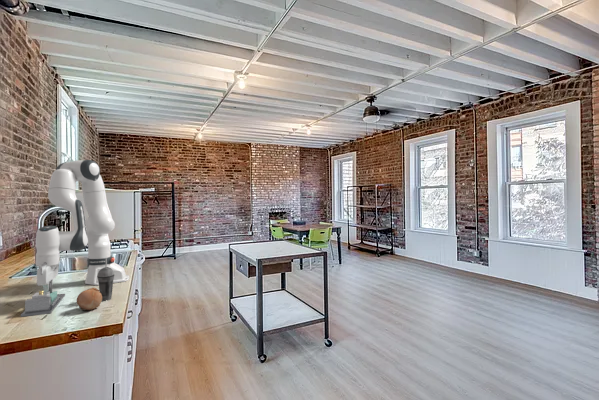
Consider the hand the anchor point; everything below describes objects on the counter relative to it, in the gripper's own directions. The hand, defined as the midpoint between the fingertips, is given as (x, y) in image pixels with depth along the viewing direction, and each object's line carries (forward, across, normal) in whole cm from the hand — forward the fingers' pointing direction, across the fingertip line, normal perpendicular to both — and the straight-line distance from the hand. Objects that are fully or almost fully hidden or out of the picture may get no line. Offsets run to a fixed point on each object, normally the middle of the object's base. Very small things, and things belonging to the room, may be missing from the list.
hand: (47, 290), depth 147 cm
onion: (+6, -19, -19) cm, 28 cm away
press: (+6, -5, 0) cm, 8 cm away
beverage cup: (+6, -7, -24) cm, 26 cm away
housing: (+5, -11, 0) cm, 12 cm away
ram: (+5, -3, 0) cm, 6 cm away
